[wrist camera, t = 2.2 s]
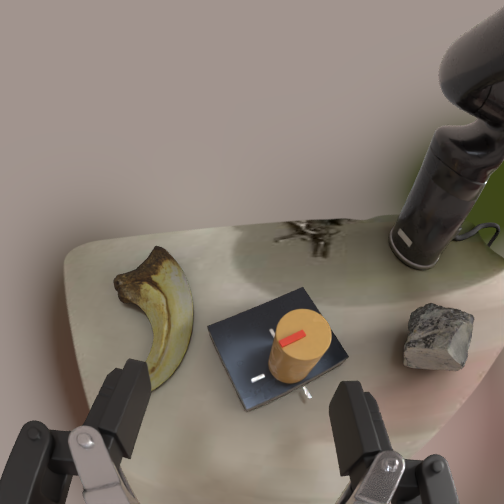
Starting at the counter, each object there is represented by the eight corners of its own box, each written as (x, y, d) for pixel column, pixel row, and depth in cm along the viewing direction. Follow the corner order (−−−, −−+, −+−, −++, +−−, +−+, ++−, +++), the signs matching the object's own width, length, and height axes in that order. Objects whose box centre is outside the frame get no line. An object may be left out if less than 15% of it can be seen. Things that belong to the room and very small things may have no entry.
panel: (299, 297, 35) (303, 285, 33) (350, 376, 29) (358, 369, 27) (209, 334, 32) (206, 325, 30) (254, 426, 25) (255, 425, 23)
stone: (481, 289, 24) (440, 336, 21) (482, 359, 25) (442, 411, 21) (422, 286, 33) (373, 322, 30) (430, 348, 34) (385, 388, 30)
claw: (124, 260, 38) (116, 245, 35) (193, 255, 39) (190, 239, 36) (112, 400, 26) (99, 395, 23) (199, 402, 27) (194, 397, 24)
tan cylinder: (297, 337, 29) (314, 298, 23) (318, 371, 27) (343, 342, 20) (260, 354, 28) (266, 320, 21) (280, 390, 25) (294, 368, 19)
